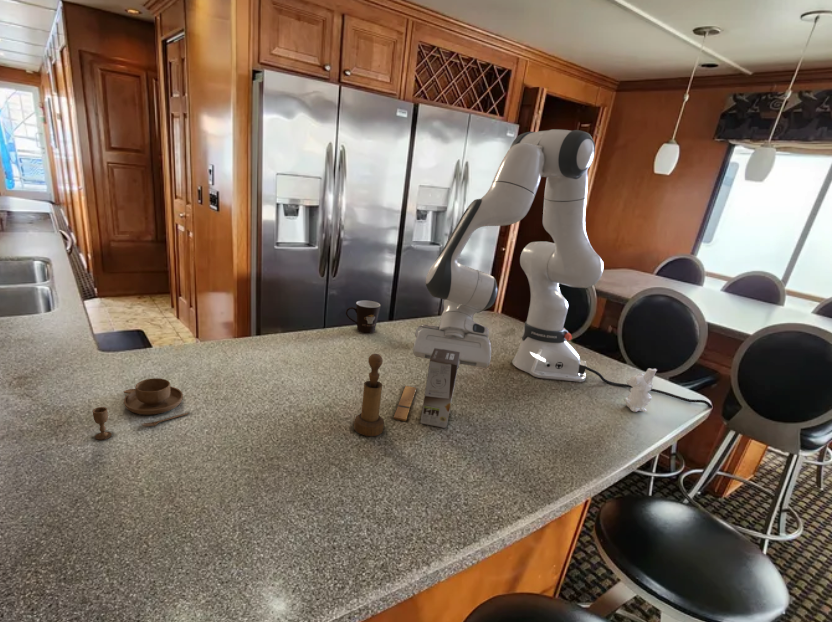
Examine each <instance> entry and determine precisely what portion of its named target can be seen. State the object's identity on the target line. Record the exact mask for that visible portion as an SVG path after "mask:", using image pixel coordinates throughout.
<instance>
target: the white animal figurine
mask: <svg viewBox="0 0 832 622" xmlns="http://www.w3.org/2000/svg"><path fill="white" fill-rule="evenodd" d="M657 371H658V369H657V368H650V367H649V368H647V369H646V371H645V373H644V374H643V373H642V372H639V373H637V374H636V375H632V376H630V378H628V380H626V384H628V385H630V386H632V387H633V388H630V390H629V391H630V394H629V395H628V396H627V397H624V398H623V401H624V403H625V406H626V407H628V408H629V409H630V411H632V412H633V413H636V412H639V411H640V412H644V413H647V409H646V408H645V407H647V406H648V405H649V404H650V403H651V401H652V395H651V394H650V393H649V392H651V391H650V390H651V389H653V385H654V384H653V379H654V377H655V375H656V373H657Z"/></svg>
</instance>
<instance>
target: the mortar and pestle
mask: <svg viewBox="0 0 832 622" xmlns="http://www.w3.org/2000/svg"><path fill="white" fill-rule="evenodd" d="M383 360H384V359H383V357H382V355H381V354H379V353H372V354H370V356H369V357H368V360H367V361H368V365H369V367H370V372H369V373H368V378H369V380H366V381H365V382H364V383H363V394H362V404H361V412H360V413H359V414H357V415H356V416H355V417H354V422H353V430H354V432H356V433H357V434H360V435H363V436H365V437H376V436H380V435H381V434H382V433H383V432H384V427H385V426H384V425H385V420H384V418H383V417H382V416H381V415H380V408H381V407H380V406H381V399H382V391H383V384H382V382H380V381H379V379H380V377H381V376H380V373H379V369H380V368H381V366H382V365H383Z"/></svg>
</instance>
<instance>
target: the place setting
mask: <svg viewBox="0 0 832 622" xmlns="http://www.w3.org/2000/svg"><path fill="white" fill-rule="evenodd" d="M123 393H124V394H127V395H125V397H124V398H123V405H124V407H125V408H126V409H127V411H130V412H131V413H133V414H137V415H145V416H153V415H160V414H164V413H167V412H169V411H171V410H174V409H176V408H177V407H179V405H180V404H181V403H182V402H183V399H184V394H183V391H182V390H181V389H180V388H177V387H174V386H171V383H170V381H169V380H168V379H164V378H160V377H159V378H158V377H155V378H153V377H152V378H147V379H143V380H141V381H139V382H137V383H136V384H135V386H134V388H129V389H126V390H124V391H123ZM187 415H189V412H186V413H185V412H184V413H182V414H177V415H175V416H174V415H173V416H171V417H167V418H164V419H160V420H157V421H153V422H152V421H151V422H144V423H143V422H142V423H140V425H142V427H145V426H146V427H154V426H157V425H158V424H159V423H161V422H166V421H170V420H173V419H176V418H180V417H183V416H187ZM92 417H93V421H94V423H95V424H97V425H99V429H98V430H99V432H98V433H97V434H95V436H94V438H95V439H96V440H97V441H105V440H109V439H110V438H112V435H113V434H112V432H110V431H106V429H107V428H106V426H105V423H107V422H108V420H109V412H108V407H105V406H98V407H95V408H93V410H92Z"/></svg>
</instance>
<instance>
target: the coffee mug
mask: <svg viewBox="0 0 832 622" xmlns="http://www.w3.org/2000/svg"><path fill="white" fill-rule="evenodd" d="M355 305H356V307H353V306H350V307H348V308H346V310H345V315H346V317H347V318H348V319H349V320H350V321H352V322H353V323H355V324H356V331H357V332H359V333H360V334H367V335H368V334H369V335H370V334H374V333H375V331H376V327H377V322H378V319H379V318H378V317H379V314H380V309H381V304H380V303H379V302H377V301H374V300H373V301H372V300H358V301H356V302H355ZM350 310H354V311H355V313H356V320H354V319H353V318H351V317H350V316H349V315H348V312H349V311H350Z"/></svg>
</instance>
